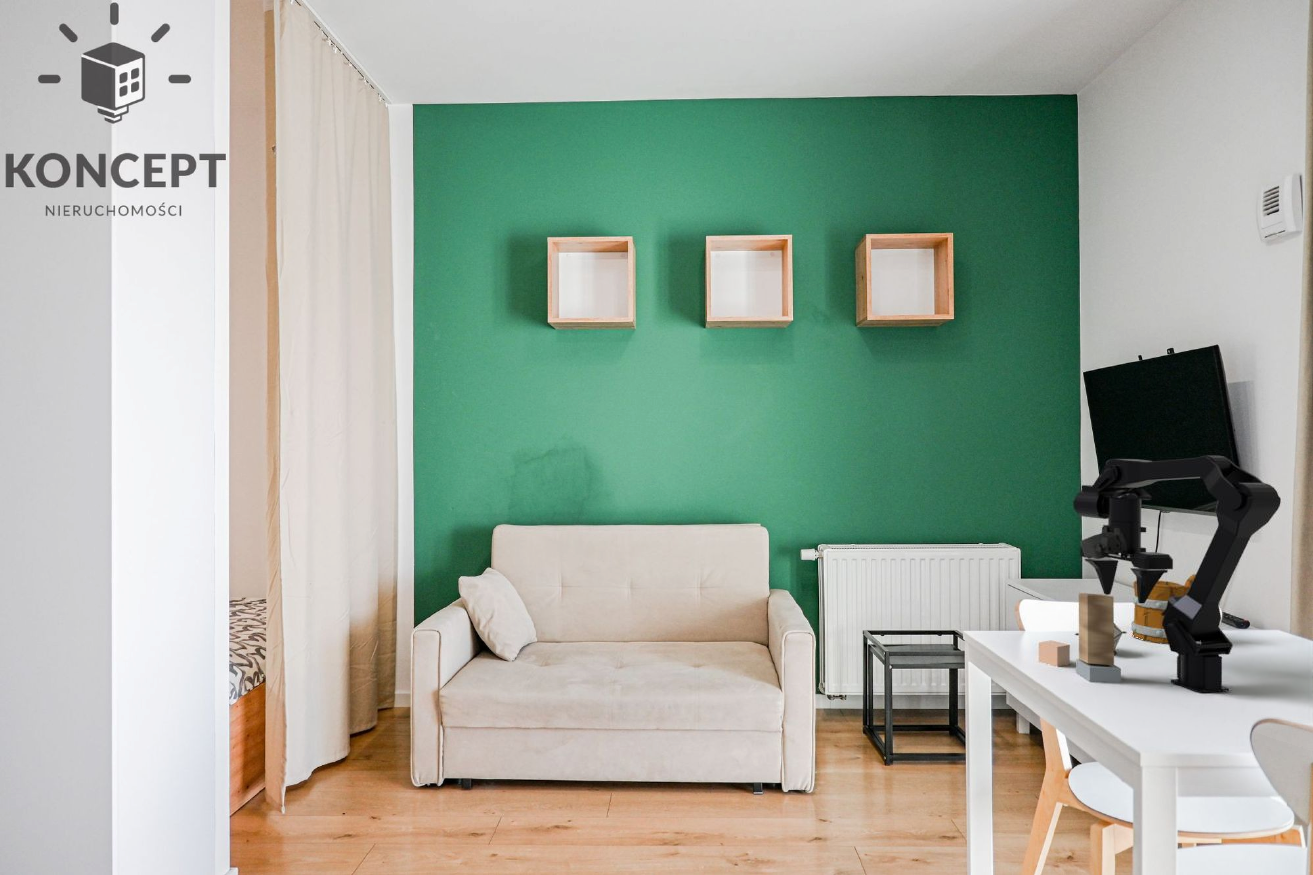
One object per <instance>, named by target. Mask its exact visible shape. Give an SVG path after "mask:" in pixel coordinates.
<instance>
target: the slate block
mask: <svg viewBox="0 0 1313 875" xmlns="http://www.w3.org/2000/svg"><path fill="white" fill-rule="evenodd" d="M1075 673H1077V674H1078V676H1079V675H1080V676H1079V677H1081V678H1082V677H1083V679H1084V680H1085V681H1088V682H1089V683H1100V684H1101V683H1102V684H1103V683H1105V684H1109V683H1110V684H1122V668H1121V667H1119V666H1118V665H1115V664H1114V665H1104V664H1090V663H1086V662H1084V661H1082V660H1079V658H1078V659H1076V661H1075ZM1077 674H1076V675H1077Z"/></svg>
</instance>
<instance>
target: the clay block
mask: <svg viewBox="0 0 1313 875" xmlns="http://www.w3.org/2000/svg"><path fill="white" fill-rule="evenodd" d="M1070 648H1071V644H1068V643H1064V642H1060V641H1055V640H1047V641H1046V640H1045V641H1040V642H1038V662H1039V663H1041V662H1042V663H1041V664H1044V663H1045V664H1046V665H1048V664H1050V665H1049V666H1052V667H1056V666H1059V667H1064V666H1068V665H1067V664H1069V665H1071V664H1070V661H1071V660H1070V657H1071V656H1070V654H1071V651H1070V650H1071V649H1070ZM1045 664H1044V665H1045Z"/></svg>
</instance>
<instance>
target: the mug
mask: <svg viewBox="0 0 1313 875" xmlns="http://www.w3.org/2000/svg"><path fill="white" fill-rule="evenodd" d="M1195 575H1196V574H1195V573H1194V574H1191V575H1190V576H1189V577H1188V578H1187V579H1186V580H1185V583H1184V585H1182V584H1180V583H1177V582H1174V581H1167V580H1166V581H1164V580H1158V582H1157V583H1156V585H1155V586H1154V588H1153V590H1152V591H1151V593H1150V595H1149V596H1148V598H1147V600H1146V602H1145V603H1139V602H1138V597H1137V580H1135V581H1133V589H1134V591H1133V592H1134V594H1133V595H1132V604H1134V610H1133V611H1134V614H1133V615H1134V616H1133V617H1134V618H1133V621H1131V623H1130V624H1131V626H1130V627H1131V628H1130V629H1131V631H1132V634H1133V635H1134V636H1135V637H1138V638H1140V639H1143V640H1142V641H1146V642H1148V641H1151V642H1150V643H1153V644H1154V643H1156V644H1160V643H1162V644H1165V645H1169V644H1168V640H1167V637H1166V634H1165V630H1164V628H1163V627H1162V620H1163V617H1164V616H1162V615H1161V613H1163V612H1164V611H1165V609H1166V607H1167V603H1168V600H1169V599H1170V597H1176V596H1184V595H1186V594H1187V592H1188V591H1189V588H1190V586H1191V584H1192V582H1193V580H1194V578H1195ZM1133 635H1132V636H1133ZM1135 637H1134V638H1135ZM1140 639H1139V640H1140Z"/></svg>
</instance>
